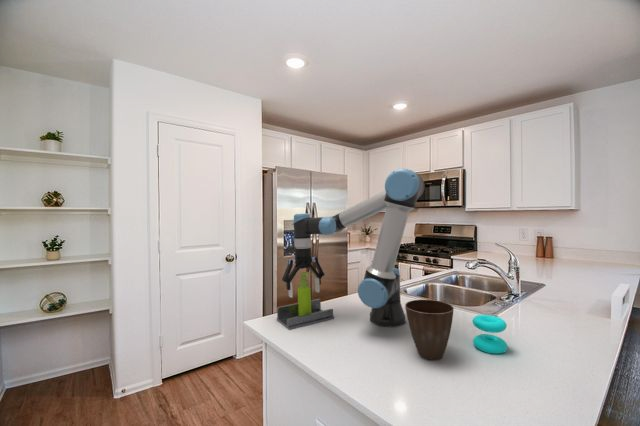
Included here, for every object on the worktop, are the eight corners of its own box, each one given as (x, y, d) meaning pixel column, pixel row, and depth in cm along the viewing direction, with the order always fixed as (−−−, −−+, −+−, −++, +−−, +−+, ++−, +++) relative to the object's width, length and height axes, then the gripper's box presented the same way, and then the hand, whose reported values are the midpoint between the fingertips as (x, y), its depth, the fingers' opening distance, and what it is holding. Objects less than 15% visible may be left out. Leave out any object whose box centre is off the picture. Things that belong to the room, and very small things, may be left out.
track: (334, 318, 132) (333, 305, 132) (289, 329, 121) (288, 315, 121) (318, 310, 145) (318, 298, 145) (276, 319, 134) (276, 306, 134)
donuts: (473, 322, 97) (471, 312, 106) (474, 352, 97) (472, 340, 106) (508, 325, 93) (503, 315, 102) (510, 357, 93) (504, 344, 102)
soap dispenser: (312, 319, 130) (310, 274, 130) (297, 318, 131) (295, 273, 131) (315, 315, 135) (313, 271, 136) (300, 314, 137) (299, 271, 137)
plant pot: (401, 344, 104) (400, 299, 104) (444, 344, 104) (442, 298, 104) (414, 366, 89) (412, 314, 89) (463, 366, 89) (461, 313, 89)
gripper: (322, 244, 143) (323, 288, 142) (273, 249, 130) (275, 297, 130) (330, 245, 136) (332, 291, 136) (280, 250, 124) (282, 301, 124)
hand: (304, 294), depth 133 cm, fingers open, 13 cm apart
